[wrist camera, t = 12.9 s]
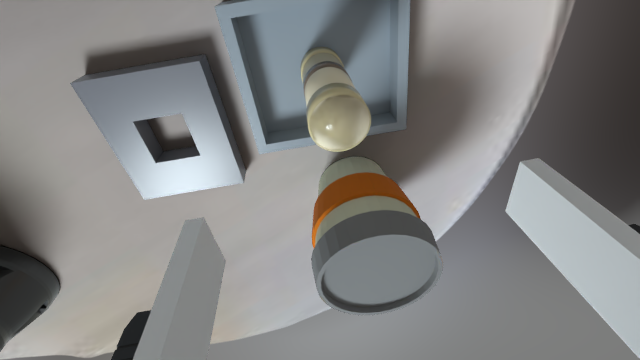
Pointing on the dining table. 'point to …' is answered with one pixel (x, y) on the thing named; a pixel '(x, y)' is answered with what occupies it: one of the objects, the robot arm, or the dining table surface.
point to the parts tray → (303, 35)
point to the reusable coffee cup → (369, 242)
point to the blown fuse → (332, 102)
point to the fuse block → (157, 101)
